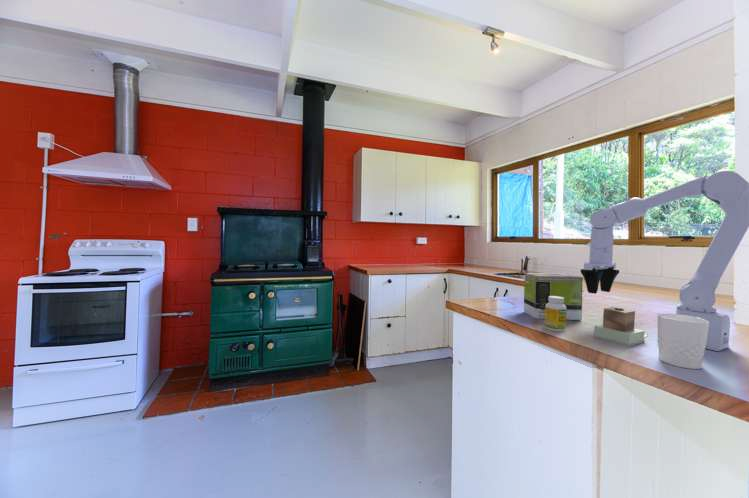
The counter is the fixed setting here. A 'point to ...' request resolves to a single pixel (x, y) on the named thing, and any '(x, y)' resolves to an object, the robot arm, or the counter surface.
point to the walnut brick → (618, 319)
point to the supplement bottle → (555, 314)
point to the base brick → (619, 335)
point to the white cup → (682, 340)
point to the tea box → (552, 293)
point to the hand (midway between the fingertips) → (598, 292)
